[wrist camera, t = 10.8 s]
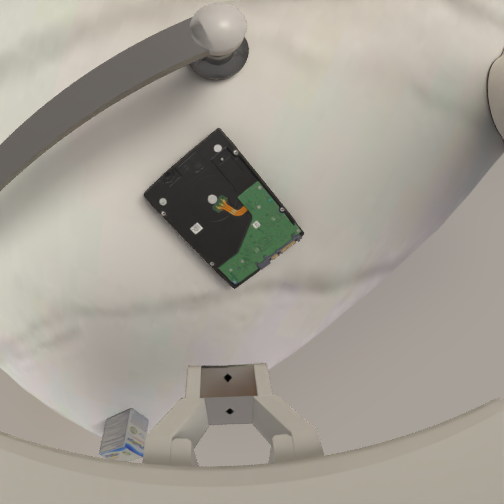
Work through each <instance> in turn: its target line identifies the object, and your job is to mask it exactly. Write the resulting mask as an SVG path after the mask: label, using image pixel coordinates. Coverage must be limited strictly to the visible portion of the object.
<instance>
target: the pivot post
mask: <svg viewBox="0 0 504 504" xmlns="http://www.w3.org/2000/svg"><path fill="white" fill-rule="evenodd" d="M248 53H249V48H248V43H247V41H246V39H245V37H244V39H243V41H242V43H241V45H240V46H239V47H238V48H237V49H236V50H234V51H233V52H231V53H229V54H226V55H221V56H213V55H208V56H206V57H204V58H201V59H199V60H197V61H194V62H192V63H190V65H191V66H192V68H193V69H194V70H195V71H196V72H197V73H198V74H199V75H201V76H203V77H205V78H208V79H215V80H218V79H225V78H228V77H231V76H233V75H235V74H236V73H237V72H239V71H240V70H241V69H242V67H243V66H244V64H245V63H246V60H247V58H248Z"/></svg>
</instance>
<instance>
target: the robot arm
mask: <svg viewBox="0 0 504 504" xmlns="http://www.w3.org/2000/svg"><path fill="white" fill-rule="evenodd" d="M488 98H489V105H490V110H491V114H492V117H493V120H494V123H495V125H496V127H497V129H498V131H499V133H500V134H501V136H502V138H503V139H504V51H503V54H502V56H501V57H499V58H498V59H497V60H495V62H494V63H493V65H492V67H491V70H490V73H489V79H488ZM250 423H253V425H254V426H255V427H256V429H257V430H258V431H259V432H260V433H261V434H262V435H263V437H264V438H265V439H266V440H267V441H268V442H269V444H270V445H271V450H270V457H269V463H268V464H258V465H243V466H217V467H199V465H198V462H197V459H196V456H195V453H194V448H195V446H196V445H197V443H198V442H199V440H200V439H201V437H202V436H203V435H204V433H205V432H206V430H207V429H208V427H209V425H223V424H250ZM0 504H504V399H501V398H497V399H494V400H491V401H490V402H487V403H485V404H483V405H481V406H479V407H477V408H475V409H473V410H471V411H468V412H466V413H464V414H461V415H459V416H457V417H454V418H452V419H450V420H447V421H445V422H442V423H440V424H437V425H434V426H432V427H429V428H426V429H423V430H420V431H418V432H415V433H412V434H409V435H406V436H402V437H399V438H396V439H393V440H389V441H386V442H382V443H379V444H375V445H371V446H367V447H363V448H359V449H355V450H350V451H346V452H341V453H336V454H331V455H326V456H324V453H323V449H322V446H321V442H320V439H319V435H318V431H317V429H316V428H315V427H313V426H312V425H311V424H310V423H309V422H307V420H305V419H304V418H303V417H302V416H301V415H299V414H298V413H297V412H296V411H295V410H294V409H292V408H291V407H290V406H289V405H288V404H287V403H285V402H284V401H283V400H282V399H281V398H280V397H279V396H278V395H273V393H272V388H271V383H270V377H269V372H268V367H267V364H266V363H259V364H243V365H227V366H188V369H187V380H186V393H185V398H181V399H180V400H179V401H178V402H177V403H176V405H175V406H174V407H173V408H172V409H171V410H170V411H169V412H168V413H167V414H166V415H165V416H164V417H163V418H162V419H161V421H160V422H159V423H158V424H157V425H156V426H155V427H154V428H153V429H152V430H151V431H150V432H149V433H148V434H147V435H146V440H145V447H144V454H143V462H142V463H132V462H125V461H117V460H111V459H103V458H98V457H93V456H87V455H82V454H77V453H73V452H68V451H64V450H60V449H56V448H52V447H48V446H44V445H41V444H37V443H34V442H30V441H27V440H24V439H21V438H18V437H15V436H12V435H9V434H6V433H4V432H1V431H0Z"/></svg>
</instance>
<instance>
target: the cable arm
mask: <svg viewBox="0 0 504 504" xmlns="http://www.w3.org/2000/svg"><path fill="white" fill-rule="evenodd" d="M246 30H247V22H246V18H245V16H244V15H243V13H242V12H241V11H240V10H239V9H238V8H236V7H234V6H232V5H230V4H226V3H213V4H209V5H207V6H204V7H203V8H201V9H200V10H198V11H197V12H196V13H195V15H194V16H193V17H192V18H189V19H187V20H185V21H182V22H180V23H178V24H175V25H173V26H171V27H169V28H167V29H165V30H163V31H160V32H158V33H156V34H154V35H152V36H150V37H148V38H146V39H145V40H143V41H141V42H139V43H137V44H135V45H133V46H132V47H130V48H128V49H126V50H124V51H123V52H121V53H119V54H118V55H116V56H114V57H112V58H111V59H109V60H108V61H106V62H104V63H103V64H101V65H100V66H98V67H96V68H95V69H93V70H92V71H90V72H89V73H87V74H86V75H84V76H83V77H81V78H80V79H79V80H77V81H76V82H74V83H73V84H71V85H70V86H69V87H67V88H66V89H65V90H63V91H62V92H61V93H59V94H58V95H57V96H55V97H54V98H53V99H51V100H50V101H49V102H48V103H46V104H45V105H44V106H43V107H42V108H40V109H39V110H38V111H37V112H36V113H34V114H33V115H32V116H31V117H30V118H29V119H27V120H26V121H25V122H24V123H23V124H22V125H21V126H20V127H18V128H17V129H16V130H15V131H14V132H13V133H12V134H11V135H10V136H9V137H8V138H7V139H6V140H5V141H4V142H3V143H2V144H1V145H0V191H1V190H2V189H3V188H4V187H5V186H6V185H7V184H8V183H9V182H11V181H12V180H13V179H14V178H15V177H16V176H17V175H18V174H19V173H21V172H22V171H23V170H24V169H25V168H26V167H27V166H29V165H30V164H31V163H32V162H33V161H35V160H36V159H37V158H38V157H39V156H41V155H42V154H43V153H44V152H46V151H47V150H48V149H50V148H51V147H52V146H53V145H55V144H56V143H57V142H59V141H60V140H61V139H63V138H64V137H65V136H67V135H68V134H69V133H71V132H72V131H74V130H75V129H76V128H78V127H79V126H81V125H82V124H84V123H85V122H87V121H88V120H90V119H91V118H93V117H94V116H96V115H97V114H99V113H100V112H102V111H103V110H105V109H106V108H108V107H110V106H111V105H113V104H115V103H116V102H118V101H120V100H121V99H123V98H125V97H126V96H128V95H130V94H131V93H133V92H135V91H137V90H139V89H140V88H142V87H144V86H146V85H148V84H150V83H151V82H153V81H155V80H157V79H159V78H161V77H163V76H165V75H167V74H169V73H171V72H173V71H175V70H177V69H179V68H181V67H184V66H186V65H188V64H190V63H192V62H194V61H197V60H199V59H201V58H204V57H206V56H208V55H213V56H221V55H226V54H229V53H231V52H233V51H234V50H236V49H237V48H238V47H239V46H240V45H241V43H242V41H243V39H244V36H245V33H246Z"/></svg>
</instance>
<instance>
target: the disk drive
mask: <svg viewBox="0 0 504 504" xmlns="http://www.w3.org/2000/svg"><path fill="white" fill-rule="evenodd" d="M144 197H145V198H146V199H147V200H148V201H149V202H150V203H151V205H152V206H153V207H154V208H155V209H156V210H157V211H158V212H159V213H160V214H162V216H163V217H164V218H165V219H166V220H167V221H168V223H170V224H171V225H172V226H173V227H174V229H176V230H177V232H178V233H179V234H180V235H181V236H182V237H183V238H184V239H185V240H186V241H187V242H188V243H189V244H190V245H191V246H192V247H193V248H194V249H195V250H196V251H197V252H198V253H199V254H200V256H202V257H203V258H204V259H205V261H206V262H207V263H209V264H210V265H211V266H212V268H214V269H215V271H216V272H217V273H218V274H219V275H220V276H221V277H222V278H223V279H225V280H226V281H227V283H228V284H229V285H230V286H232V287H233V288H234V289H235V288H237V287H238V286H239V285H241V284H242V283H244V282H245V281H246V280H248V279H249V278H250V277H252V276H253V275H254V274H256V273H257V272H259V271H260V269H261V270H262V269H263V268H265V267H266V266H267V265H269V264H270V263H271V262H270V260H273V259H275V258H276V257H277V256H279V254H280V253H281V254H282V253H283V252H284V251H285V250H287V249H288V248H289V247H291V246H292V245H293V244H295V243H296V241H298V242H299V241H300V239H302V236H303V235H304V232H303V231H302V230H301V228H300V227H299V226H298V224H297V223H296V221H295V220H294V219H293V217H292V216H291V214H290V213H289V212H288V211H287V209H285V207H284V206H283V205H282V203H281V202H280V201H279V200H278V198H277V197H276V196H275V195H274V193H273V192H272V191H271V190H270V188H269V187H268V186H267V185H266V183H265V182H264V181H263V180H262V178H261V177H260V176H259V175H258V173H257V172H256V171H255V170H254V169H253V167H252V166H251V165H250V164H249V162H248V161H247V160H246V159H245V158H244V156H243V155H242V154H241V153H240V152H239V150H238V149H237V147H236V146H235V145H234V144H233V142H232V141H231V140H230V139H229V138H228V137H227V136H226V135H225V134H224V132H223V131H222V130H221V129H220V128H218V129H216V130H215V131H214V132H213V133H211V134H210V135H209V136H208V137H206V138H205V139H204V140H203V141H201V142H200V143H199V144H198V145H197V146H195V147H194V148H193V149H192V150H191V151H189V152H188V153H187V154H186V155H185V156H184V157H183V158H181V159H180V160H179V161H178V162H177V163H176V164H175V165H173V166H172V167H171V168H170V169H169V170H168V171H167V172H166V173H164V174H163V175H162V176H161V177H160V178H159V179H158V180H157V181H156V182H155V183H154V184H153V185H151V186H150V187H149V188H148V189H147V190H146V192H145V193H144Z"/></svg>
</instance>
